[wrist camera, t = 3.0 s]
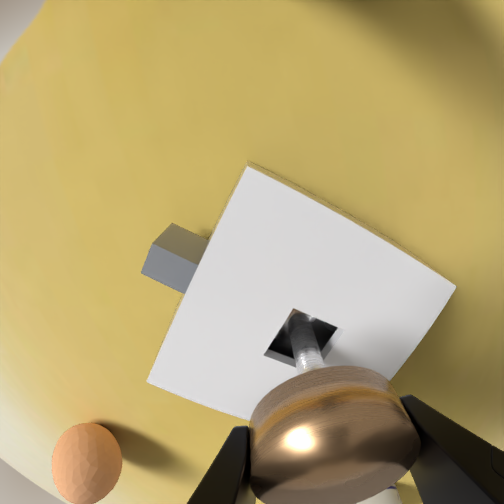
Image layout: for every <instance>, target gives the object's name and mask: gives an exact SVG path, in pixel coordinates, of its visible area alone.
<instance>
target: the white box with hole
mask: <svg viewBox="0 0 504 504" xmlns="http://www.w3.org/2000/svg"><path fill="white" fill-rule="evenodd" d="M141 273H142V274H144V275H146V276H148V277H150V278H152V279H154V280H156V281H158V282H160V283H162V284H164V285H166V286H169V287H171V288H173V289H175V290H177V291H179V292H181V293H183V295H182V297H181V299H180V301H179V303H178V306H177V308H176V310H175V312H174V315H173V317H172V319H171V322H170V324H169V327H168V329H167V332H166V334H165V337H164V339H163V341H162V344H161V346H160V349H159V351H158V354H157V356H156V359H155V362H154V364H153V367H152V369H151V372H150V374H149V377H148V379H147V382H148V383H150V384H152V385H155V386H157V387H159V388H161V389H164V390H166V391H169V392H171V393H173V394H176V395H178V396H181V397H183V398H186V399H188V400H191V401H194V402H196V403H199V404H202V405H204V406H207V407H210V408H213V409H215V410H218V411H221V412H224V413H227V414H230V415H233V416H236V417H239V418H242V419H245V420H248V421H250V418H251V415H252V413H253V411H254V409H255V407H256V406H257V404H258V403H259V402H260V401H261V400H262V398H263V397H264V396H265V395H267V394H268V393H269V392H270V391H271V390H272V389H274V388H275V387H277V386H278V385H280V384H281V383H283V382H285V381H287V380H288V379H291V378H293V377H295V376H297V375H298V373H297V368H296V363H295V359H292V358H290V357H287V356H284V355H282V354H279V353H277V352H274V351H271V350H269V349H268V347H269V346H270V344H271V343H272V341H273V340H274V338H275V336H276V335H277V333H278V332H279V330H280V329H281V327H282V325H283V324H284V322H285V321H286V319H287V317H288V316H289V314H290V313H291V311H292V309H293V308H294V309H297V310H299V311H301V312H304V313H306V314H308V315H310V316H313V317H315V318H317V319H320V320H322V321H324V322H327V323H329V324H331V325H334V326H336V327H338V328H337V330H336V331H335V333H334V334H333V336H332V337H331V338H330V340H329V341H328V343H327V344H326V345H325V347H324V348H323V350H322V351H321V355H322V358H323V361H324V364H325V367H331V366H358V367H364V368H368V369H371V370H374V371H376V372H378V373H380V374H381V375H383V376H384V377H386V378H387V379H388V380H389V381H390V380H391V379H392V378H393V376H394V375H395V374H396V373H397V371H398V370H399V369H400V368H401V366H402V365H403V364H404V363H405V361H406V360H407V359H408V357H409V356H410V355H411V353H412V352H413V351H414V349H415V348H416V347H417V345H418V344H419V343H420V341H421V340H422V338H423V337H424V336H425V334H426V333H427V331H428V330H429V328H430V327H431V326H432V324H433V323H434V321H435V320H436V318H437V317H438V315H439V314H440V312H441V311H442V309H443V308H444V306H445V305H446V303H447V301H448V300H449V298H450V297H451V295H452V293H453V292H454V290H455V289H456V287H457V286H456V285H454V284H453V283H452V282H450V281H449V280H448V279H446V278H445V277H444V276H442V275H441V274H440V273H438V272H437V271H436V270H434V269H433V268H432V267H430V266H429V265H427V264H426V263H425V262H423V261H422V260H421V259H419V258H418V257H416V256H415V255H414V254H412V253H411V252H409V251H408V250H407V249H405V248H404V247H402V246H401V245H399V244H398V243H396V242H395V241H393V240H391V239H390V238H388V237H387V236H385V235H383V234H382V233H380V232H378V231H377V230H375V229H373V228H372V227H370V226H368V225H367V224H365V223H363V222H361V221H360V220H358V219H356V218H355V217H353V216H351V215H349V214H348V213H346V212H344V211H342V210H341V209H339V208H337V207H335V206H333V205H332V204H330V203H328V202H326V201H324V200H323V199H321V198H319V197H317V196H315V195H314V194H312V193H310V192H308V191H306V190H304V189H302V188H301V187H299V186H297V185H295V184H293V183H291V182H289V181H287V180H285V179H283V178H282V177H280V176H278V175H276V174H274V173H272V172H270V171H268V170H266V169H264V168H262V167H260V166H258V165H256V164H254V163H252V162H250V161H248V160H247V162H246V164H245V166H244V168H243V170H242V172H241V174H240V176H239V178H238V180H237V182H236V184H235V186H234V188H233V190H232V192H231V194H230V196H229V198H228V200H227V202H226V204H225V206H224V208H223V210H222V212H221V214H220V216H219V218H218V220H217V222H216V224H215V226H214V229H213V231H212V233H211V235H210V237H209V239H208V240H207V239H205V238H203V237H201V236H199V235H197V234H194V233H192V232H190V231H188V230H186V229H184V228H182V227H180V226H178V225H176V224H173V223H172V224H171V225H170V226H169V227H168V228H167V229H166V230H165V231H164V232H163V233H162V234H161V235H160V236H159V237H158V238H157V239H156V240H155V241H154V242H153V243H152V246H151V248H150V251H149V253H148V256H147V258H146V261H145V263H144V266H143V268H142V271H141Z"/></svg>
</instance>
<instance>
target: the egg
mask: <svg viewBox="0 0 504 504" xmlns="http://www.w3.org/2000/svg"><path fill="white" fill-rule="evenodd" d="M121 469H122V454H121V450H120V447H119V445H118V442H117V441H116V439H115V437H114V436H113V435H112V434H111V432H110V431H109V430H108V429H106V428H104V427H102V426H101V425H98V424H95V423H83V424H78V425H75V426H73V427H71V428H70V429H68V430H67V431H65V432H64V433H63V435H62V436H61V437H60V438H59V440H58V441H57V444H56V446H55V449H54V452H53V456H52V474H53V479H54V483H55V485H56V487H57V489H58V491H59V492H60V494H61V495H62V496H63V497H64V498H65V499H66V500H67V501H69V502H71V503H73V504H94V503H96V502H98V501H99V500H101V499H103V498H104V497H105V496H106V495H107V494H108V493H109V492H110V491H111V490H112V489H113V488H114V486H115V485H116V483H117V481H118V479H119V476H120V473H121Z"/></svg>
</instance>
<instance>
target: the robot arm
mask: <svg viewBox="0 0 504 504" xmlns="http://www.w3.org/2000/svg"><path fill="white" fill-rule="evenodd" d="M399 398H400V400H401V402H402V404H403V406H404V408H405V410H406V412H407V414H408V415H409V417H410V419H411V421H412V423H413V425H414V427H415V429H416V431H417V433H418V435H419V437H420V440H421V448H420V453H419V455H418V458H417V459H416V461H415V463H414V464H413V466H412V467H411V468H410V472H411V474H412V477H413V479H414V481H415V484H416V486H417V489H418V491H419V494H420V496H421V499H422V501H423V504H504V451H502V450H500V449H498V448H497V447H495V446H492V445H491V444H490V443H488V442H487V441H485V440H483V439H482V438H480V437H478V436H477V435H475V434H473V433H472V432H470V431H468V430H467V429H465V428H464V427H462V426H460V425H459V424H457V423H456V422H454V421H452V420H451V419H449V418H448V417H446V416H444V415H443V414H441V413H440V412H438V411H436V410H435V409H433V408H432V407H430V406H428V405H427V404H425V403H424V402H422V401H421V400H419V399H417V398H416V397H414V396H413V395H406V396H402V397H399ZM255 503H256V496H255V495H254V494H253V492H252V490H251V487H250V442H249V427H248V426H236V427H234V428H233V429H232V431H231V433H230V434H229V436H228V438H227V439H226V441H225V443H224V444H223V446H222V448H221V449H220V451H219V453H218V454H217V456H216V458H215V459H214V461H213V463H212V464H211V466H210V468H209V469H208V471H207V472H206V474H205V476H204V477H203V479H202V480H201V482H200V484H199V485H198V487H197V488H196V490H195V491H194V493H193V495H192V496H191V498H190V499H189V501H188V502H187V504H255Z"/></svg>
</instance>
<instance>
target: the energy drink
mask: <svg viewBox="0 0 504 504" xmlns="http://www.w3.org/2000/svg"><path fill="white" fill-rule="evenodd" d="M356 504H402V501H401V499H400V496H399V493H398V490H397V488H396V485H395V484H393V485H391V486H390V487H389V488H387V489H385V490H384V491H382V492H380V493H378V494H377V495H375V496H373V497H371V498H368V499H366V500H364V501H361V502H359V503H356Z"/></svg>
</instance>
